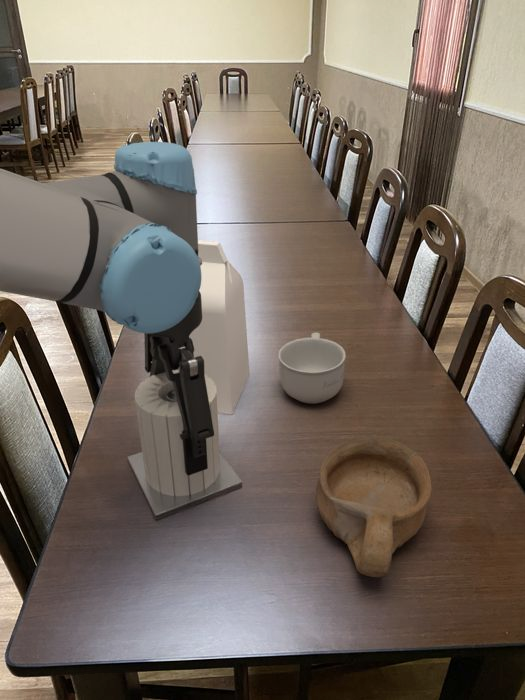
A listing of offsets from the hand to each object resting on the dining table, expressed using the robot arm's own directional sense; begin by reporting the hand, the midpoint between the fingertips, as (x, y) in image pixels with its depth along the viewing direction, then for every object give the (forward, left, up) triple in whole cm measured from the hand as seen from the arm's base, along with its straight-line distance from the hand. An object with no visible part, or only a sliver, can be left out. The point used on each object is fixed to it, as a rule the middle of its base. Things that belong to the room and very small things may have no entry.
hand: (180, 445), depth 71 cm
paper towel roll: (0, 0, -4) cm, 4 cm away
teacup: (+27, +9, -5) cm, 29 cm away
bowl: (+17, -20, -5) cm, 27 cm away
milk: (+11, +17, -5) cm, 21 cm away
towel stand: (0, 0, -5) cm, 5 cm away
